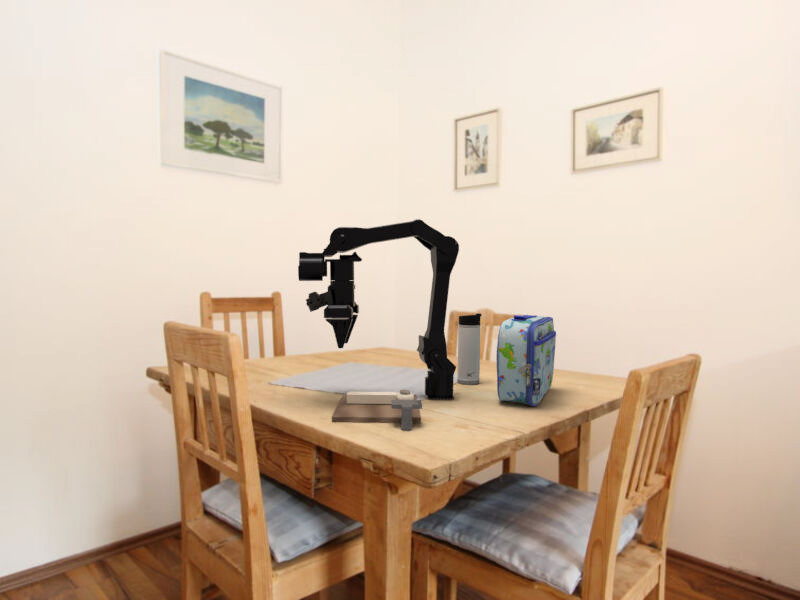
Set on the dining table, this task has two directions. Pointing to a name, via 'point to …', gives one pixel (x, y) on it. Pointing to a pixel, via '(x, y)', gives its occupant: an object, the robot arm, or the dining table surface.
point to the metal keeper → (406, 411)
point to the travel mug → (469, 349)
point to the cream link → (376, 397)
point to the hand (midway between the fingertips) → (343, 345)
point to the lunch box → (525, 358)
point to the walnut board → (371, 412)
